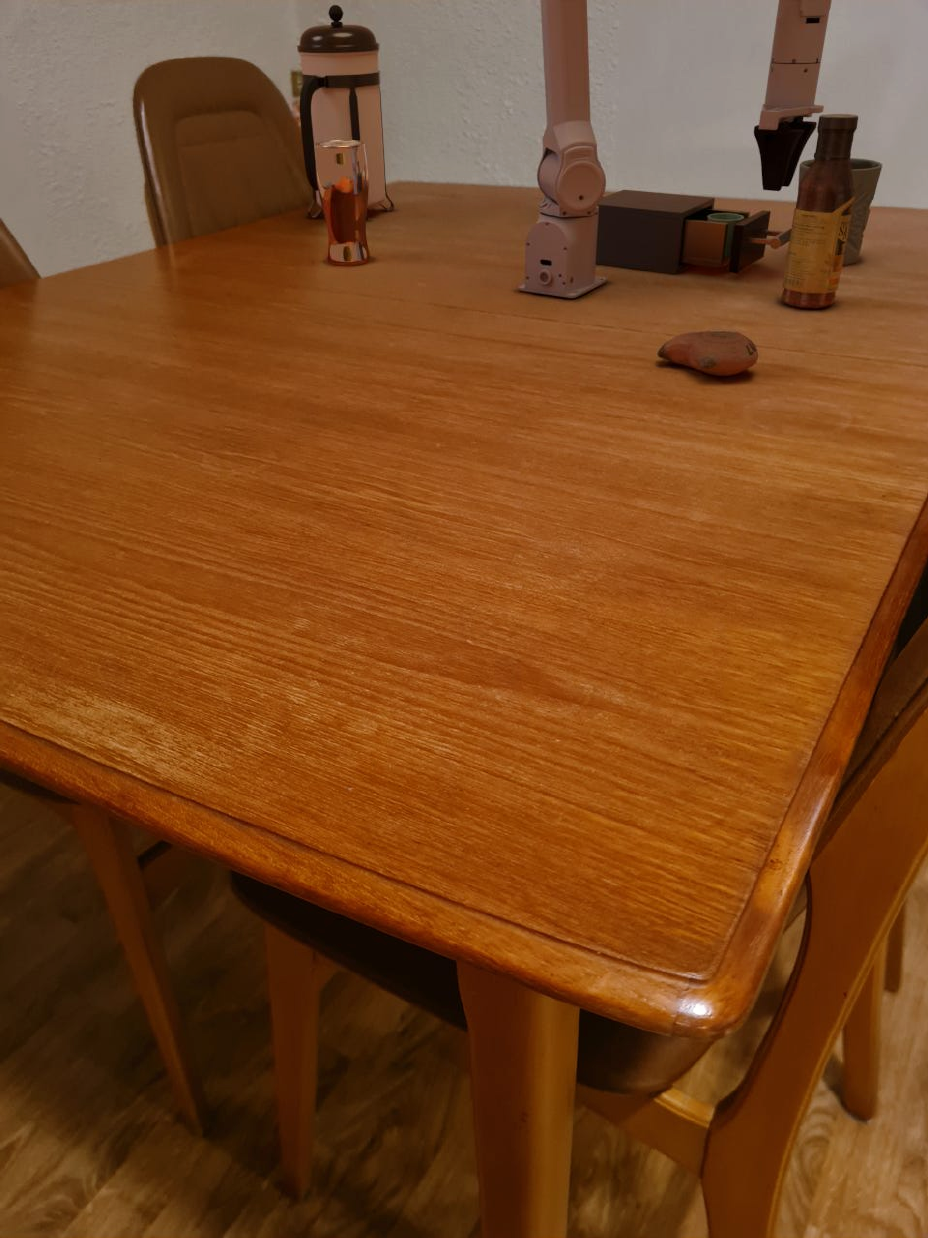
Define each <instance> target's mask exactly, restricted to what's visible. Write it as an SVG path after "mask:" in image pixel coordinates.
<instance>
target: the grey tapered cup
mask: <svg viewBox="0 0 928 1238" xmlns="http://www.w3.org/2000/svg"><path fill="white" fill-rule="evenodd" d="M813 162H814V158H813V159H807V160H804V161H801V162H800V164H799V171H798V187H797V189H798V188H799V184H800V182H801V180H802V178H803V176H804V175H805V173H806V172H807V171H808V169H809V168H810V167H811V165H812V164H813ZM850 162H851V169H852V177H853V184H854V191H855V198H854V204H853V209H852V214H851V221H850V226H849V232H848V237H847V242H846V248H845V252H844V258H843V263H842V266H849V265H853V264H854V263H855V264H856V262H858V260H859V258H860V254H861V250H862V246H863V238H864V235H865V234H864V232H865V231H866V228H867V225H868V220H869V218H870V214H871V208H870V206H871V205H872V202H873V200H874V198H875V194H876V191H877V188H878V183H879V180H880V175H881V172H882V169H883V164H882V163H881V162H879V161H876V160H873V159H866V158H858V157H850Z"/></svg>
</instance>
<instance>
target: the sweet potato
mask: <svg viewBox="0 0 928 1238" xmlns="http://www.w3.org/2000/svg"><path fill="white" fill-rule="evenodd" d="M656 354H657V357H659V358H661V359H663V360H665V361H668V362H670V363H674V364H679V365H683V366H686V367H689V368H693V369H694V370H697V371H698V372H703V373H705V374H709V375H710V376H717V377H730V376H734V375H737V374H739V373H743V372H745V371H746V370H748V369H750V368H752V367H754V365H756V363H757V362H758V359H759V352H758V349H757V347H756V345H755V343H754V342H753V341H752V340H751V339H750V338H749V337H748V336H746V335H744V334H743V333H741V332H739V331H734V330H731V329H729V330H728V329H711V330H706V331H695V332H693V331H692V332H685V333H681V334H678V335H676V336H674V337H672V338H671V339H669V340H667V341H666V342H665V343H663V345H662V346H661V347H660V348H659V349H658V352H657V353H656Z"/></svg>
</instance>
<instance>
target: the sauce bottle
mask: <svg viewBox="0 0 928 1238" xmlns="http://www.w3.org/2000/svg"><path fill="white" fill-rule="evenodd" d="M858 122H859V115H857V114H849V113H830V114H829V113H828V114H821V115H819V117H818V121H817V126H816V129H817V130H816V131H817V138H816V139H817V140H816V144H815V145H816V146H815V152H813V159H814V162H813V164H812V165H811V167H810V168H809V169H808V171H807V172H806V173H805V175H804V176H803V178H802V180H801V182H800V184H799V183H798V185H799V188H798V187H797V197H796V203H795V208H794V209H793V216H792V221H791V228H790V229H791V234H790V241H789V242H788V248H787V254H786V260H785V266H784V274H783V281H782V288H783V291H782V294H781V300H782V302H783V303H784V304H786V305H788V306H791V307H795V308H802V309H819V308H825V307H829V306H832V304H834V301H835V298H836V293H837V291H838V290H839V284H840V279H841V274H842V269H843V265H842V263H843V258H844V252H845V248H846V242H847V237H848V232H849V226H850V221H851V214H852V209H853V204H854V198H855V191H854V184H853V177H852V169H851V162H850V158H852V157H851V156H852V146H853V142H854V136H855V133H856V131H857V129H858Z"/></svg>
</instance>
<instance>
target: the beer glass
mask: <svg viewBox="0 0 928 1238" xmlns="http://www.w3.org/2000/svg"><path fill="white" fill-rule="evenodd" d="M315 147H316V176H317V185H318V192H319V196H320V201H321V205H322V207H321V208H322V209H323V211H322V213H323V216H324V220H325V224H326V225H325V226H326V228H327V236H328V248H327V263H329V264H330V265H333V266H334V265H335V266H347V267H348V266H358V265H363V264H367V263H369V262H370V261H371V259H372V258H371V252H370V249H369V243H368V239H367V221H366V217H367V215H368V209H367V206H368V192H369V180H368V167H367V159H366V152H365V143H364V142H363V141H359V140H330V141H322V142H318V143H316V144H315Z"/></svg>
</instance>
